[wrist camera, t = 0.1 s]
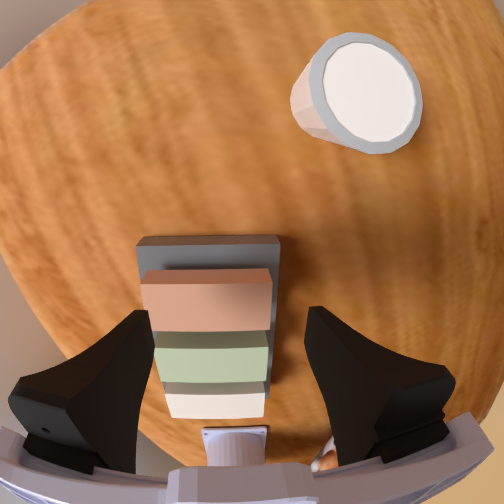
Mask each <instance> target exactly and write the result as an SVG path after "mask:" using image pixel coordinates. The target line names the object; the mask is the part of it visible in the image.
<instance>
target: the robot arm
mask: <svg viewBox="0 0 504 504" xmlns="http://www.w3.org/2000/svg"><path fill="white" fill-rule="evenodd" d="M304 345H305V349H306V353H307V357H308V361H309V363H310V366H311V368H312V371H313V373H314V376H315V378H316V381H317V383H318V386H319V388H320V390H321V393H322V395H323V398H324V401H325V404H326V408H327V412H328V416H329V420H330V424H331V428H332V433H333V437H334V443H335V448H336V453H337V460H338V467H336V468H332V469H327V470H322V471H317V472H312V470H311V466H308V465H305V464H302V463H298V462H284V463H272V464H266V462H265V455H264V452H265V444H266V436H267V427H266V426H257V427H239V428H203V429H202V436H203V441H204V445H205V449H206V453H207V466H190V467H181V468H178V469H175V470H173V471H171V472H169V475H168V478H158V477H149V476H142V475H136V471H135V470H136V467H135V466H136V464H135V463H136V462H135V461H136V441H137V430H138V421H139V413H140V407H141V403H142V399H143V395H144V392H145V388H146V385H147V381H148V378H149V374H150V371H151V367H152V363H153V357H154V350H155V342H154V338H153V333H152V328H151V323H150V318H149V313H148V310H134V311H133V312H132V313H131V314H129V315H128V316H127V317H126V318H125V319H124V320H123V321H122V322H120V323H119V324H118V325H117V326H116V327H115V328H114V329H112V330H111V331H110V332H109V333H108V334H106V335H105V336H104V337H103V338H101V339H100V340H99V341H98V342H96V343H95V344H94V345H92V346H91V347H89V348H88V349H86V350H85V351H83V352H82V353H80V354H78V355H77V356H75V357H73V358H71V359H69V360H67V361H65V362H63V363H61V364H59V365H57V366H55V367H52V368H50V369H47V370H44V371H42V372H38V373H35V374H32V375H28V376H24V377H20V379H19V381H18V382H17V384H16V386H15V387H14V389H13V391H12V392H11V394H10V396H9V398H8V403H9V406H10V409H11V410H12V412H13V413H14V415H15V416H16V418H17V419H18V420H19V421H20V423H21V424H22V425H23V427H24V428H25V429H26V430H27V431H28V435H27V438H25V437H24V436H22V435H21V434H19V433H17V432H14V431H12V430H10V429H7V428H5V427H1V429H0V484H1V485H2V486H4V487H5V488H6V489H7V490H9V491H10V492H11V493H13V494H14V495H15V496H17V497H18V498H20V499H22V500H24V501H26V502H28V503H30V504H420V503H422V502H424V501H426V500H428V499H429V498H431V497H433V496H435V495H437V494H439V493H440V492H442V491H444V490H445V489H447V488H449V487H451V486H452V485H454V484H456V483H457V482H459V481H460V480H462V479H463V478H465V477H466V476H467V475H468V474H469V473H471V472H472V471H473V470H474V469H475V468H476V467H477V466H478V465H479V464H480V463H482V462H483V461H484V460H485V459H486V458H487V457H488V456H489V455H490V454H491V453H492V452H493V451H494V447H493V446H492V444H491V442H490V441H489V440H488V438H487V436H486V435H485V433H484V432H483V430H482V429H481V428H480V426H479V425H478V423H477V422H476V420H475V419H474V417H473V416H472V415H471V413H470V412H469V411H467V412H465V413H463V414H461V415H459V416H457V417H455V418H453V419H452V420H450V421H449V422H448V423H446V424H445V423H444V421H443V418H444V417H445V414H444V412H443V411H442V408H443V407H444V405H445V404H446V402H447V401H448V399H449V398H450V396H451V395H452V393H453V391H454V388H455V384H456V381H455V378H454V377H453V376H452V374H451V373H450V372H449V370H448V369H447V368H446V367H445V366H444V365H438V364H433V363H428V362H423V361H420V360H416V359H413V358H410V357H407V356H404V355H401V354H398V353H396V352H393V351H391V350H389V349H387V348H384V347H383V346H381V345H379V344H377V343H375V342H373V341H371V340H369V339H368V338H366V337H365V336H363V335H361V334H360V333H358V332H357V331H355V330H354V329H352V328H351V327H350V326H348V325H347V324H345V323H344V322H343V321H341V320H340V319H339V318H338V317H336V316H335V315H334V314H332V313H331V312H330V311H328V310H327V309H326V308H324V307H323V306H314V307H309V311H308V318H307V325H306V332H305V338H304Z"/></svg>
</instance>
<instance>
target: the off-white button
mask: <svg viewBox="0 0 504 504" xmlns="http://www.w3.org/2000/svg"><path fill="white" fill-rule="evenodd" d="M165 397H166V400H167V404H168V407H169V410H170V413H171V416H172V418H190V419H232V418H254V417H263V412H264V400H265V390H264V384H263V381H253V382H226V383H187V382H166V388H165Z"/></svg>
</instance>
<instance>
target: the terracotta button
mask: <svg viewBox="0 0 504 504" xmlns="http://www.w3.org/2000/svg"><path fill="white" fill-rule="evenodd" d="M272 284H273V282H272V279H271V276H270V273H269V270H268V268H264V269H210V270H147V271H146V273H145V275H144V277H143V279H142V281H141V283H140V289H141V295H142V301H143V306H144V310H148V313H149V318H150V323H151V328H152V331H180V332H213V331H252V330H270V317H271V301H272Z"/></svg>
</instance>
